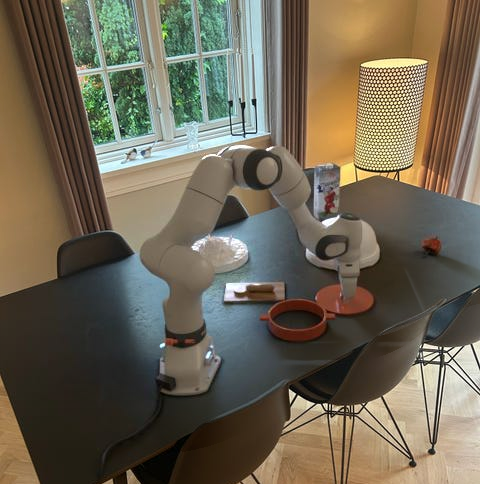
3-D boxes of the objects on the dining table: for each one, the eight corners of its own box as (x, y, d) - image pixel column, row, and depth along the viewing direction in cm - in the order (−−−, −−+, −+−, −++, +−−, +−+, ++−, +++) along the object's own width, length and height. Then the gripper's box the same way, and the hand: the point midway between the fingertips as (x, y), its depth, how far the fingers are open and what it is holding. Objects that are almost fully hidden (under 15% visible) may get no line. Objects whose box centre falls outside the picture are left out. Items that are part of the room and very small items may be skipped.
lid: (377, 316, 167) (378, 305, 165) (317, 316, 169) (317, 305, 166) (368, 286, 184) (369, 275, 181) (314, 287, 185) (314, 277, 183)
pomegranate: (434, 264, 199) (449, 244, 199) (427, 253, 195) (443, 233, 195) (420, 259, 205) (435, 240, 205) (413, 249, 201) (428, 229, 201)
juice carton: (311, 218, 240) (312, 162, 225) (331, 214, 242) (334, 158, 227) (319, 225, 233) (321, 167, 218) (340, 221, 235) (343, 163, 220)
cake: (188, 279, 196) (186, 257, 191) (177, 250, 219) (174, 230, 214) (256, 266, 202) (255, 245, 196) (238, 240, 225) (237, 219, 219)
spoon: (274, 287, 185) (274, 281, 183) (274, 294, 181) (274, 287, 179) (234, 287, 186) (233, 281, 185) (233, 294, 182) (232, 288, 181)
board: (284, 302, 178) (284, 299, 177) (223, 303, 180) (223, 300, 179) (284, 284, 188) (284, 281, 188) (226, 285, 190) (226, 283, 190)
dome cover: (377, 275, 190) (380, 241, 182) (299, 269, 198) (299, 236, 190) (381, 240, 215) (384, 209, 208) (312, 236, 223) (312, 206, 215)
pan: (337, 342, 156) (337, 330, 154) (259, 342, 158) (258, 331, 156) (331, 309, 172) (332, 298, 170) (261, 310, 174) (260, 299, 172)
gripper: (334, 247, 176) (333, 281, 184) (340, 274, 159) (338, 311, 167) (352, 246, 176) (350, 280, 183) (360, 274, 159) (357, 310, 166)
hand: (344, 295), depth 175 cm, fingers open, 8 cm apart
